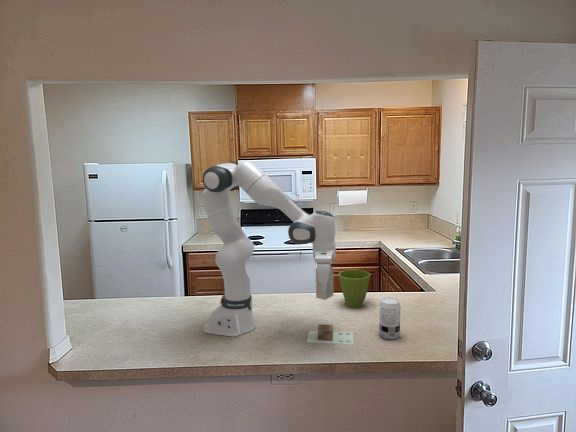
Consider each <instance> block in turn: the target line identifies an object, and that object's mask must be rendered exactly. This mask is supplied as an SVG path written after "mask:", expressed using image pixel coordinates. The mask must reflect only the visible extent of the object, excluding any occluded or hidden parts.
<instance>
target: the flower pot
mask: <svg viewBox="0 0 576 432" xmlns="http://www.w3.org/2000/svg"><path fill="white" fill-rule="evenodd" d="M338 276H339V277H338V278H339V284H340V288H341V291H342V295H343V297H344V301H345V303H346V306H347V307H349V308H352V309H357V308H361V307H362V306H363V305H364V302H365V299H366V296H367V293H368V290H369V283H370V277H371V274H370V272H368V271H366V270H362V269H345V270H341V271H339V272H338Z"/></svg>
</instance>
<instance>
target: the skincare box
mask: <svg viewBox="0 0 576 432" xmlns="http://www.w3.org/2000/svg"><path fill="white" fill-rule="evenodd" d="M315 291H316V296H315V297H316V298H317V299H319V300H320V299H321V300H323V301H326V300H328V299H330V298H332V297H334V266H330V274H329V282H328V283H327V290H326V291H322V285H321V283H319V280H318V273H317V267H316V268H315Z"/></svg>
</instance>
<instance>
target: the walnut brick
mask: <svg viewBox="0 0 576 432" xmlns="http://www.w3.org/2000/svg"><path fill="white" fill-rule="evenodd" d="M317 331H318V340H325V341H333V332H334V324H321V323H320V324H318V325H317Z"/></svg>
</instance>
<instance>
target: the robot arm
mask: <svg viewBox="0 0 576 432" xmlns="http://www.w3.org/2000/svg"><path fill="white" fill-rule="evenodd" d="M201 178H202V183H203V186H204V189H203V191H202V193H201V198H202V203H203V208H204V211H205V214H206V217H207V219H208V221H209V224H210V227H211V229H212V233H214V234H215V235H216V236H218V238H219V239H220V240H221V242H222V243H223V245H222V246H221V247H220V248H219V250H217V252H216V255H215V259H214V260H215V264H216V266H217V267H218V269H220V271H221V272H220V273H221V274H222V279H223V284H224V285H223V286H224V294H223V295H222V296H221V298H220V302H219V304H220V305H219V306H217V308H215V309H214V310H213V311H212V312H211V313H210V315H209V320H208V321H207V322H206V323H205V324H204V326H203V332H204V333H205V334H210V335H218V336H225V337H226V336H227V337H233V338H235V337H238V336H240V335H243V334H247V333H250V332H251V331H254V329H256V327H257V325H256V322H255V318H254V315H253V309H252V308H253V298H252V293H251V279H250V276H249V275H248V273H247V270H246V262H247V261H248V260H250V259H251V257H252V256H253V254H254V251H255V245H254V242H253V241H252V240H251V239H250V238H249V237H248V236H247V235H246V234H245V232H244V230H243V229H242V227H241V226H240V223H239V221H238V219H237V217H236V214H235V212H234V208H233V206H232V204H231V201H230V199H229V193H230V192H233V191H234V190H235V189H237V188H238V187H240V188H241V189H242V190H243V191H244V192H245V194H246V195H247V196H248V197H249V198H250V199H251V200H252V201H254V202H255V203H257V204H258V205H260V206H268V207H273V208H276V209H278V210H280V211H281V212H282V213H283V214H284V215H286V216H287V217H288V218H289V219H290V221H292V223H291V224H290V225H289V226H288V231H287V232H288V233H287V235H288V238H289V239H290V240H291V242H293V243H294V244H296V245H306V244H307V245H308V244H312V258H313V259H314V263H316V268H317V273H318V280H319V283H321V285H322V291H326V290H327V283H328V282H329V274H330V266H331V265H332V263H333V261H334V259H335V258H336V241H335V237H336V223H335V222H336V221H335V218H334V215H333V214H332V213H330V212H328V211H325V210H315V211H314V212H312V214H311V213H308V212H306V211H305V210H304V209H303V208H302V207H300V205H298V204H297V203H296V202H295V201H294V200H293V199H292V198H291V197H290V196H289V195H287V194H286V193H285V192H284V190H282V189H281V188H280V187H279V186H278V185H277V184H276V183H275V182H274V181H273V180H272V179H271V177H270V176H269V175H268V174H267V173H266V172H265V171H263V169H261V168H260V167H259V166H258V165H256V164H255V163H253V162H252V161H250V160H243V161H241V162H239V163H237V162H232V161H231V162H224V163H219V164H217V165H213V166H210V167H208V168H207V169H206V170H205V171H204V172H203V174H202V177H201Z"/></svg>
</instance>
